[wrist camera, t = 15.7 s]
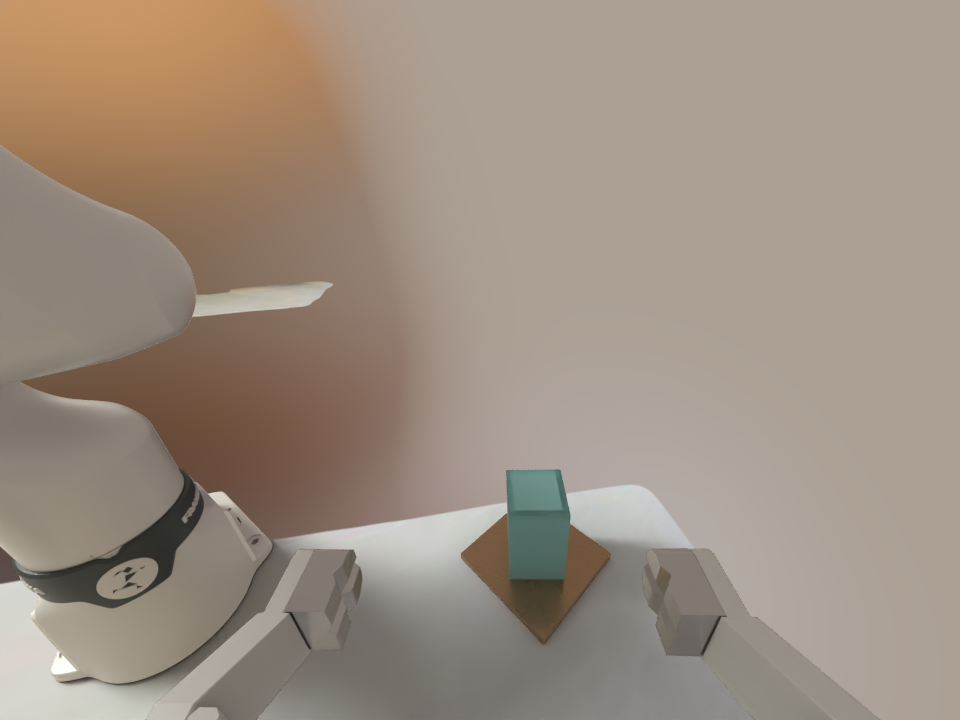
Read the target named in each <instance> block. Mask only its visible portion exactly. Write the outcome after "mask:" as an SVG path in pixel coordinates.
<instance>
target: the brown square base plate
mask: <svg viewBox="0 0 960 720" xmlns="http://www.w3.org/2000/svg"><path fill="white" fill-rule="evenodd" d="M610 555H611V554H610V553H609V552H608V551H606V550H605V549H603V548H602V547H601V546H599V545H598V544H597V543H595V542H594V541H592V540H591V539H590V538H588V537H587V536H586V535H584V534H583V533H581V532H580V531H579V530H577V529H576V528H575V527H573V526H572V525H570V526H569V536H568V546H567V557H566V567H565V577H564V579H510V575H509V549H508V518H507V514H505V515H504V516H503V517H502V518H501V519H500V520H499V521H497V522H496V523H495V524H494V525H493V526H492V527H491V528H489V529H488V530H487V531H486V532H485V533H484V534H483V535H481V536H480V537H479V538H478V539H477V540H476V541H475V542H474V543H472V544H471V545H470V546H469V547H468V548H467V549H466V550H464V551H463V552H462V553H461V558H462V559H463V560H464V561H465V562H466V563H467V564H468V566H469V567H470V568H471V569H472V570H473V571H474V572H475V573H476V574H477V575H478V576H479V577H480V578H481V579H482V580H483V581H484V582H485V583H486V584H487V585H488V587H489V588H490V589H491V590H492V591H493V592H494V593H495V594H496V595H497V596H498V597H499V598H500V599H501V600H502V601H503V602H504V603H505V604H506V605H507V606H508V608H509V609H510V610H511V611H512V612H513V613H514V614H515V615H516V616H517V617H518V618H519V619H520V620H521V621H522V622H523V623H524V624H525V625H526V626H527V627H528V629H529V630H530V631H531V632H532V633H533V634H534V635H535V636H536V637H537V638H538V639H539V640H540V641H541V642H542V643H543V644H545V642H546V641H547V640H548V638H549V637H550V636H551V634H552V633H553V632H554V630H555V629H556V628H557V627H558V625H559V624H560V623H561V621H562V620H563V619H564V617H565V616H566V615H567V613H568V612H569V611H570V610H571V608H572V607H573V606H574V604H575V603H576V602H577V600H578V599H579V598H580V596H581V595H582V594H583V593H584V591H585V590H586V589H587V587H588V586H589V585H590V583H591V582H592V581H593V580H594V578H595V577H596V576H597V574H598V573H599V572H600V570H601V569H602V568H603V566H604V565H605V564H606V563H607V561H608V560H609V559H610Z"/></svg>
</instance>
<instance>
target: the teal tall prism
mask: <svg viewBox="0 0 960 720" xmlns="http://www.w3.org/2000/svg"><path fill="white" fill-rule="evenodd" d="M506 476H507V518H508V549H509V575H510V579H564V577H565V567H566V557H567V546H568V536H569V526H570V511H569V507H568V502H567V498H566V493H565V489H564V484H563V480H562V475H561V471H560V470H507V471H506Z"/></svg>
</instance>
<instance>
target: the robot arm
mask: <svg viewBox="0 0 960 720" xmlns="http://www.w3.org/2000/svg"><path fill="white" fill-rule="evenodd" d="M195 305H196V286H195V281H194V277H193V274H192V272H191V269H190V267H189V265H188V264H187V262H186V260H185V259H184V257H183V256H182V254H181V253H180V252H179V250H178V249H177V248H176V247H175V246H174V245H173V244H172V243H171V241H169V240H168V239H167V238H166V237H165V236H164V235H163V234H161V233H160V232H159V231H157V230H156V229H155V228H153V227H152V226H150V225H148V224H147V223H146V222H144V221H142V220H140V219H138V218H136V217H135V216H133V215H131V214H128V213H125V212H122V211H119V210H116V209H114V208H111V207H109V206H106V205H103V204H101V203H99V202H96V201H94V200H92V199H90V198H88V197H85V196H83V195H81V194H79V193H77V192H75V191H73V190H71V189H69V188H67V187H66V186H64V185H62V184H59V183H58V182H56V181H55V180H53V179H51V178H49V177H48V176H46V175H44V174H43V173H41V172H39V171H38V170H36V169H35V168H33V167H32V166H30V165H29V164H27V163H26V162H24V161H23V160H21V159H20V158H18V157H17V156H15V155H14V154H12V153H11V152H10V151H8V150H7V149H6V148H4V147H3V146H2V145H0V547H2V548H3V549H4V550H5V551H6V552H7V553H8V554H9V555H10V556H12V557H13V558H14V559H13V567H14V570H15V572H16V573H17V574H18V575H19V576H20V579H21V581H22V582H23V584H24V585H25V586H26V587H27V588H28V589H30V590H31V591H33V592H35V593H37V594H38V595H39V596H40V597H39V599H38V601H37V603H36V606H35V610H34V611H33V612H32V613H31V618H32V621H33V622H34V623H35V625H36V626H37V627H38V628H39V629H40V630H41V632H42V633H43V634H44V635H45V636H46V637H47V638H48V639H49V641H50V642H51V643H52V644H53V645H54V646H55V647H56V648H57V649H58V651H57V654H56V656H55V659H54V661H53V664H52V667H51V670H50V672H51V675H52V676H53V677H54V679H55V680H56V681H60V682H61V681H70V680H75V679H80V678H84V677H92V678H96V679H99V680H101V681H104V682H108V683H129V682H134V681H138V680H141V679H144V678H147V677H150V676H153V675H155V674H157V673H159V672H162V671H164V670H166V669H167V668H169V667H171V666H173V665H175V664H176V663H178V662H180V661H181V660H183V659H184V658H186V657H187V656H189V655H190V654H191V653H193V652H194V651H195V650H197V649H198V648H199V647H201V646H202V645H203V644H204V643H205V642H206V641H208V640H209V639H210V638H211V637H212V636H213V635H214V634H215V633H216V632H217V631H218V630H219V629H220V628H221V627H222V626H223V625H224V624H225V623H226V621H227V620H228V619H229V618H230V617H231V615H232V614H233V613H234V611H235V610H236V609H237V607H238V606H239V604H240V603H241V601H242V599H243V598H244V596H245V594H246V592H247V590H248V588H249V585H250V583H251V580H252V578H253V576H254V573H255V572H256V570H257V568H258V567H259V566H260V565H261V563H262V562H263V561H264V560H265V558H266V557H267V556H268V554H269V553H270V551H271V550H272V547H273V544H272V542H271V541H270V540H269V538H268V537H267V536H266V535H265V534H264V533H263V532H262V531H261V530H260V529H259V528H258V527H257V526H256V525H255V524H254V523H253V522H252V521H251V520H250V519H249V518H248V517H247V516H246V515H245V513H244V512H243V511H242V510H241V509H240V508H239V507H238V506H237V505H236V504H235V503H234V502H233V501H232V500H231V499H230V498H229V497H228V496H227V495H226V494H225V493H224V492H215V493H210V494H208V493H207V492H206V491H205V490H204V489H203V488H202V487H201V486H200V485H199V484H198V483H197V482H194V480H193V479H192V478H191V477H190V476H189V475H188V474H187V473H186V472H185V471H184V470H182V469H180V468H178V467H177V466H176V464H175V462H174V460H173V459H172V457H171V455H170V454H169V452H168V450H167V449H166V447H165V445H164V444H163V442H162V441H161V439H160V437H159V436H158V434H157V432H156V431H155V429H154V427H153V426H152V424H151V422H150V421H149V420H148V419H146V418H145V417H144V416H142V415H141V414H139V413H138V412H136V411H134V410H132V409H130V408H128V407H125V406H123V405H120V404H116V403H111V402H103V401H91V400H77V399H68V398H62V397H57V396H53V395H50V394H47V393H44V392H41V391H38V390H35V389H33V388H31V387H29V386H27V385H25V384H23V383H21V382H20V381H22V380H26V379H31V378H35V377H39V376H44V375H48V374H53V373H57V372H61V371H65V370H70V369H75V368H79V367H83V366H88V365H92V364H96V363H101V362H105V361H110V360H114V359H118V358H121V357H123V356H126V355H128V354H131V353H134V352H136V351H139V350H142V349H144V348H147V347H149V346H152V345H154V344H157V343H159V342H162V341H164V340H166V339H169V338H171V337H174V336H176V335H178V334H181V333H182V332H183V331H184V330H185V328H186V327H187V326H188V324H189V322H190V320H191V318H192V315H193V313H194V309H195ZM255 543H256V544H255ZM646 558H647V560H648V563H649V564H647V565H646V566H645V567H644V568H643V573H642V582H643V589H644V593H645V597H646V600H647V603H648V605H649V607H650V608H651V609H652V610H653V611H654V612H655V613H656V614H657V615H658V617H657V621H656V628H657V631H658V633H659V636H660V639H661V642H662V645H663V647H664V650H665V653H666V655H677V656H699V657H702V660H703V661H704V662H705V663H706V664H707V666H708V667H709V668H710V669H711V670H712V671H713V673H714V674H715V675H716V676H717V677H718V678H719V679H720V681H721V682H722V683H723V684H724V685H725V686H726V688H727V689H728V690H729V691H730V692H731V693H732V694H733V696H734V697H735V698H736V699H737V700H738V701H739V703H740V704H741V705H742V706H743V707H744V708H745V710H746V711H747V712H748V713H749V714H750V715H751V716H752V718H753V719H754V720H880V719H879V718H878V717H876V716H875V715H874V714H873V713H872V712H870V711H869V710H868V709H867V708H866V707H865V706H863V705H862V704H861V703H860V702H858V701H857V700H856V699H855V698H853V696H851V695H850V694H849V693H848V692H847V691H845V690H844V689H843V688H842V687H840V686H839V685H838V684H837V683H835V682H834V681H833V680H832V679H831V678H830V677H828V676H827V675H826V674H825V673H824V672H822V671H821V670H820V669H819V668H818V667H816V666H815V665H814V664H813V663H811V662H810V661H809V660H808V659H807V658H806V657H804V656H803V655H802V654H801V653H800V652H798V651H797V650H796V649H795V648H794V647H792V646H791V645H790V644H789V643H787V642H786V641H785V640H784V639H783V638H782V637H780V636H779V635H778V634H777V633H775V632H774V631H773V630H772V629H771V628H769V627H768V626H767V625H766V624H765V623H764V622H762V621H761V620H760V619H759V618H758V617H751V616H750V615H749V613H748V611H747V610H746V608H745V606H744V604H743V603H742V601H741V599H740V597H739V596H738V594H737V592H736V591H735V589H734V587H733V585H732V584H731V582H730V580H729V579H728V577H727V575H726V573H725V572H724V570H723V568H722V567H721V565H720V563H719V561H718V560H717V558H716V556H715V555H714V553H712V551H711V550H709V549H687V548H681V549H650V550H649V551H648V553H647V556H646ZM355 560H356V555H355V552H354V550H319V549H299V550H298V551H297V552H296V553H295V555H294V556H293V557H292V559H291V561H290V563H289V565H288V567H287V569H286V571H285V573H284V574H283V576H282V578H281V580H280V582H279V584H278V586H277V588H276V590H275V592H274V593H273V595H272V597H271V599H270V601H269V603H268V605H267V607H266V609H265V611H264V612H259V613H257V614H256V615H255V616H254V617H253V618H251V619H250V620H249V621H248V622H247V623H246V624H245V625H244V626H242V627H241V628H240V629H239V630H238V631H237V632H236V633H235V634H233V635H232V636H231V637H230V638H229V639H228V640H227V641H225V642H224V643H223V644H222V645H221V646H220V647H219V648H218V649H216V650H215V651H214V652H213V653H212V654H211V655H210V656H209V657H207V658H206V659H205V660H204V661H203V662H202V663H201V664H200V665H198V666H197V667H196V668H195V669H194V670H193V671H192V672H191V673H189V674H188V675H187V676H186V677H185V678H184V679H183V680H181V681H180V682H179V683H178V684H177V685H176V686H175V687H174V688H172V689H171V690H170V691H169V692H168V693H167V694H166V695H165V696H163V697H162V698H161V699H160V700H159V701H158V702H157V703H156V704H155V705H154V707H153V708H152V710H151V711H150V713H149V714H148V716H147V718H146V719H145V720H257V718H258V717H259V716H260V715H261V713H262V712H263V711H264V710H265V708H266V707H267V706H268V705H269V704H270V702H271V701H272V700H273V699H274V697H275V696H276V695H277V694H278V692H279V691H280V690H281V689H282V687H283V686H284V685H285V684H286V683H287V681H288V680H289V679H290V678H291V676H292V675H293V674H294V673H295V671H296V670H297V669H298V668H299V667H300V665H301V664H302V663H303V662H304V660H305V659H306V658H307V657H308V655H309V654H310V651H315V650H342V649H343V646H344V643H345V639H346V636H347V633H348V630H349V627H350V624H351V619H350V616H349V611H350V610H351V609H352V608H353V607H354V606H355V605H356V604H357V602H358V598H359V595H360V591H361V584H362V572H361V569H360V567H359V566H358V565H357V564H355V563H354V562H355Z"/></svg>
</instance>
